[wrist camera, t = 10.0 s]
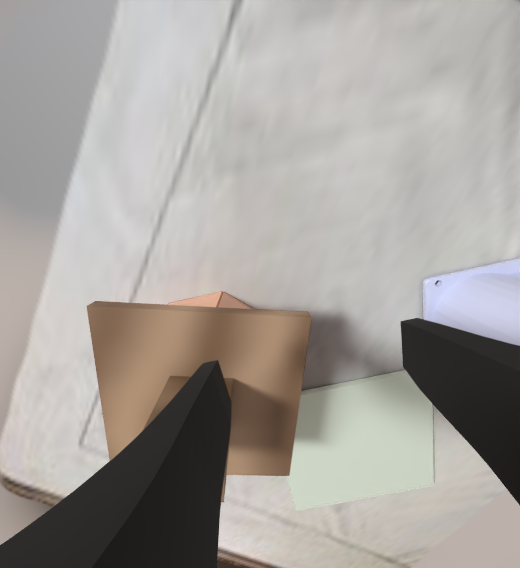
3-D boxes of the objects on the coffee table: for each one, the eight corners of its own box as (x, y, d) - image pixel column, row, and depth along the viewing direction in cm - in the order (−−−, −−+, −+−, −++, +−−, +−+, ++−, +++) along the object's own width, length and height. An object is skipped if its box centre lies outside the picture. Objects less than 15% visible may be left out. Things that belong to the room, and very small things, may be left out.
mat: (428, 365, 22) (432, 368, 22) (430, 480, 26) (433, 485, 26) (266, 397, 23) (266, 402, 22) (294, 505, 27) (295, 511, 27)
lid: (308, 311, 15) (336, 362, 10) (287, 465, 19) (300, 557, 14) (95, 301, 15) (12, 349, 10) (117, 461, 18) (66, 557, 13)
